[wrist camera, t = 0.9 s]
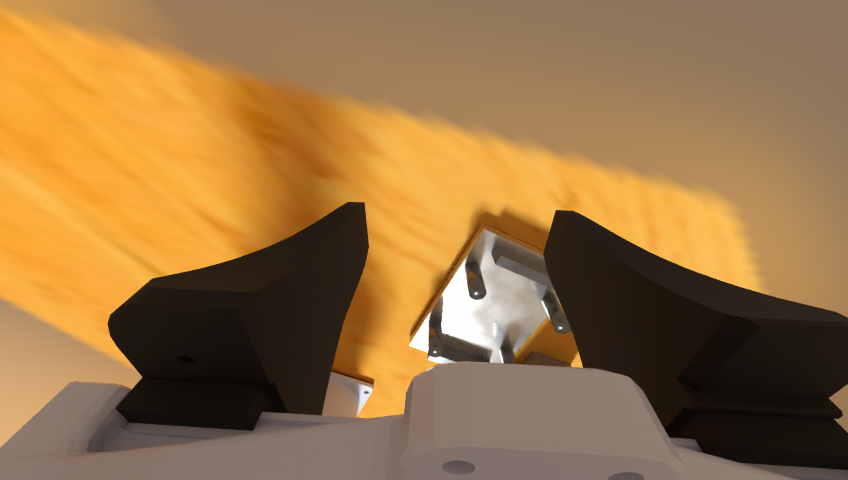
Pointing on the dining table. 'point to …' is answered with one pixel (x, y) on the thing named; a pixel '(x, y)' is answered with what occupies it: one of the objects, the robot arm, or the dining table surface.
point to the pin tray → (489, 303)
